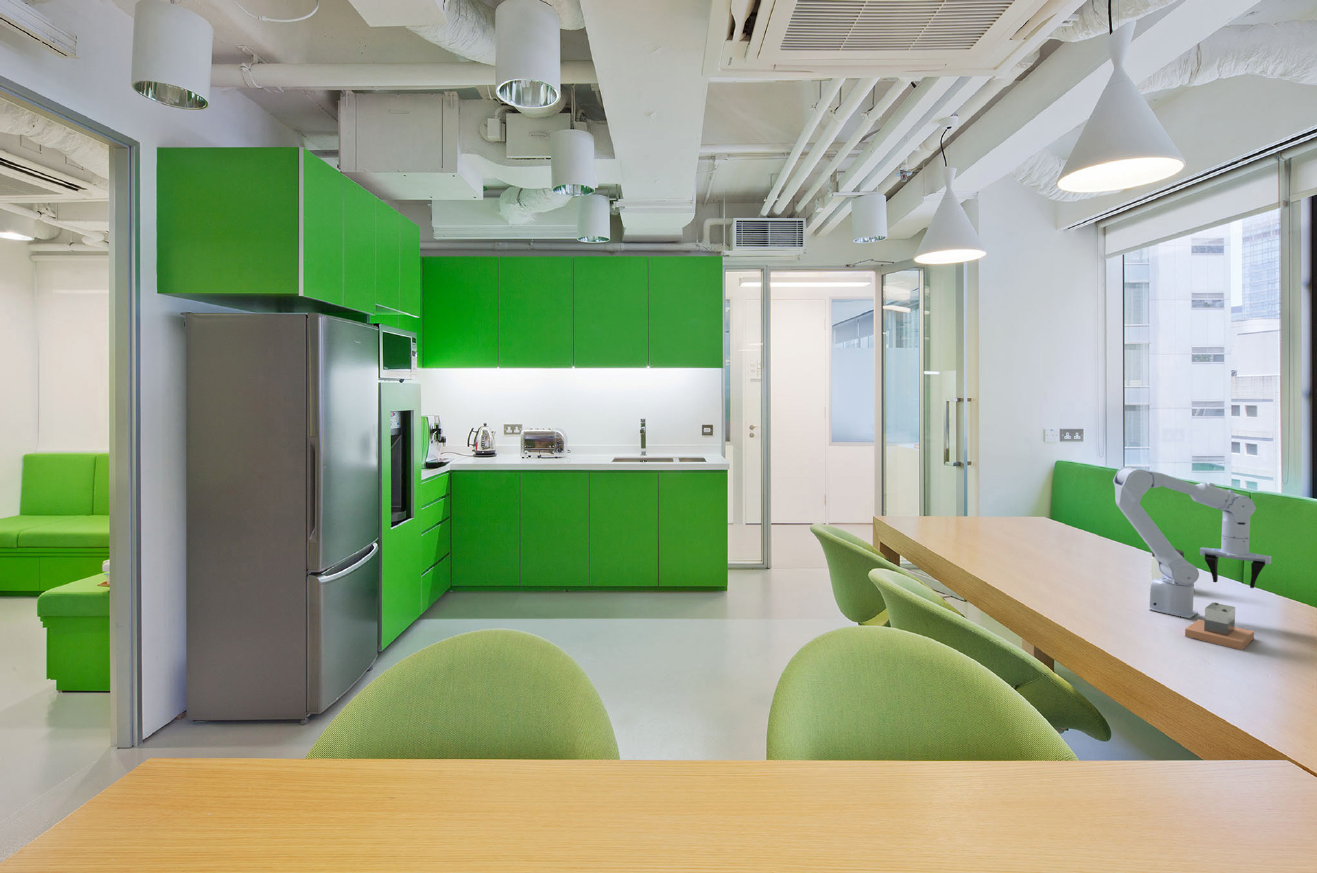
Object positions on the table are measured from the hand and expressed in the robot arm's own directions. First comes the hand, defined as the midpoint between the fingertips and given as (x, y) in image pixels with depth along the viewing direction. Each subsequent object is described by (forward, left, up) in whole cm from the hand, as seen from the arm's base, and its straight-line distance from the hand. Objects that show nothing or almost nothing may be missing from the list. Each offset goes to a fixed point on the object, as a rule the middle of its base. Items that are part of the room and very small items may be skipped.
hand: (1233, 584), depth 174 cm
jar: (-21, +23, -10) cm, 32 cm away
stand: (+2, -22, -10) cm, 24 cm away
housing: (+2, -23, -8) cm, 24 cm away
